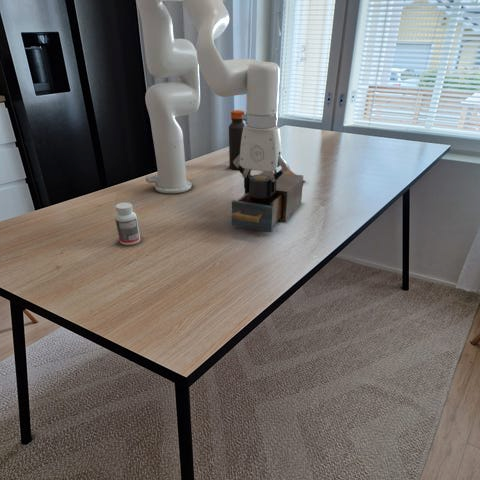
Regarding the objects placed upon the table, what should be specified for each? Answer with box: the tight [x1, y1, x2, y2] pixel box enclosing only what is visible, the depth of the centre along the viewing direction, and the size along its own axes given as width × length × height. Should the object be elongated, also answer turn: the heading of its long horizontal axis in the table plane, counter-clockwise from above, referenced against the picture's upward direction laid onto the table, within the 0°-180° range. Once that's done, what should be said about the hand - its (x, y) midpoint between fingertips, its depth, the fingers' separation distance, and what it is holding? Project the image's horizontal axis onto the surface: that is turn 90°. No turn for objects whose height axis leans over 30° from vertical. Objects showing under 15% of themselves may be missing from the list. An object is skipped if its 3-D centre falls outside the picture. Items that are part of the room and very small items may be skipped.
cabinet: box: [244, 171, 304, 223], centre depth 123 cm, size 16×13×9 cm
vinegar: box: [228, 109, 247, 171], centre depth 154 cm, size 7×7×20 cm
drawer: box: [231, 192, 284, 233], centre depth 113 cm, size 19×12×7 cm, turn 156°
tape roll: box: [249, 174, 270, 198], centre depth 110 cm, size 6×6×5 cm
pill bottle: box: [114, 202, 141, 246], centre depth 105 cm, size 5×5×10 cm
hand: (259, 192), depth 111 cm, fingers closed on tape roll, 6 cm apart
